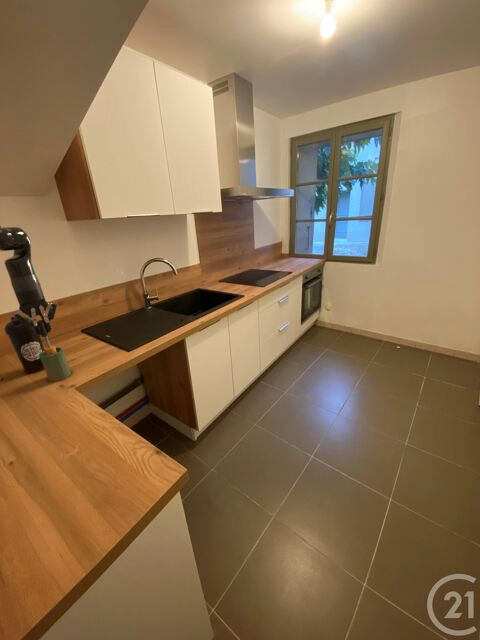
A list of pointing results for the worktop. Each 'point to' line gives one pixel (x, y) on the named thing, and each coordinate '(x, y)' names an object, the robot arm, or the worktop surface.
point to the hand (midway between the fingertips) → (44, 333)
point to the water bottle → (25, 344)
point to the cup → (55, 365)
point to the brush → (46, 338)
